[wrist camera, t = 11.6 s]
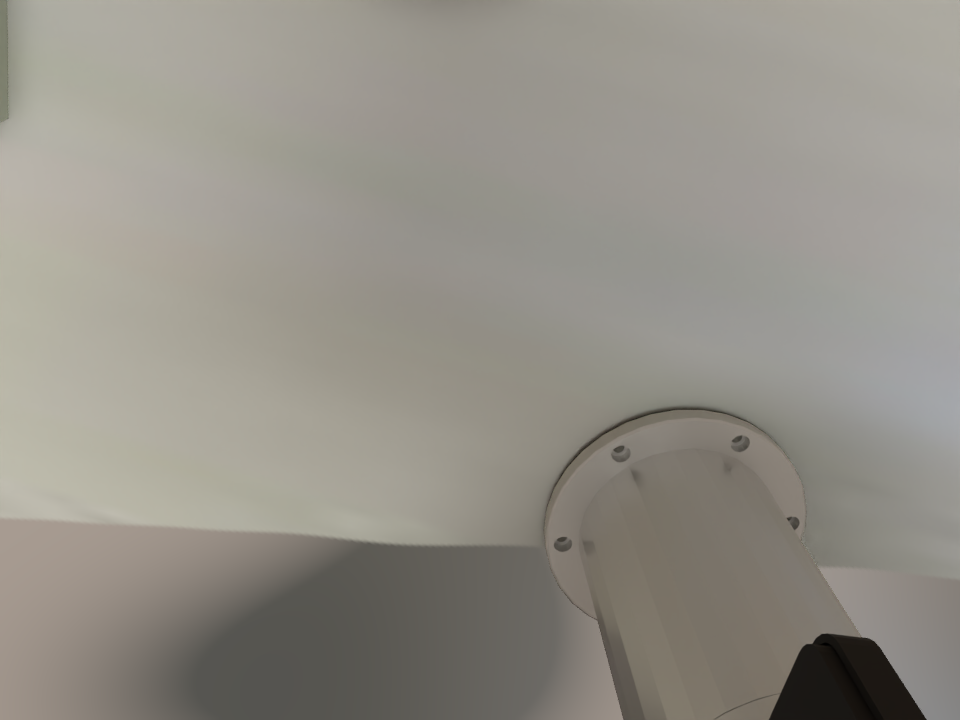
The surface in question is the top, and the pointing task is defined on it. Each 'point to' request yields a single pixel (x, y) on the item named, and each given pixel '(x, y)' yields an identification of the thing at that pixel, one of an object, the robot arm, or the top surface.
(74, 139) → the top surface
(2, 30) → the sage block
